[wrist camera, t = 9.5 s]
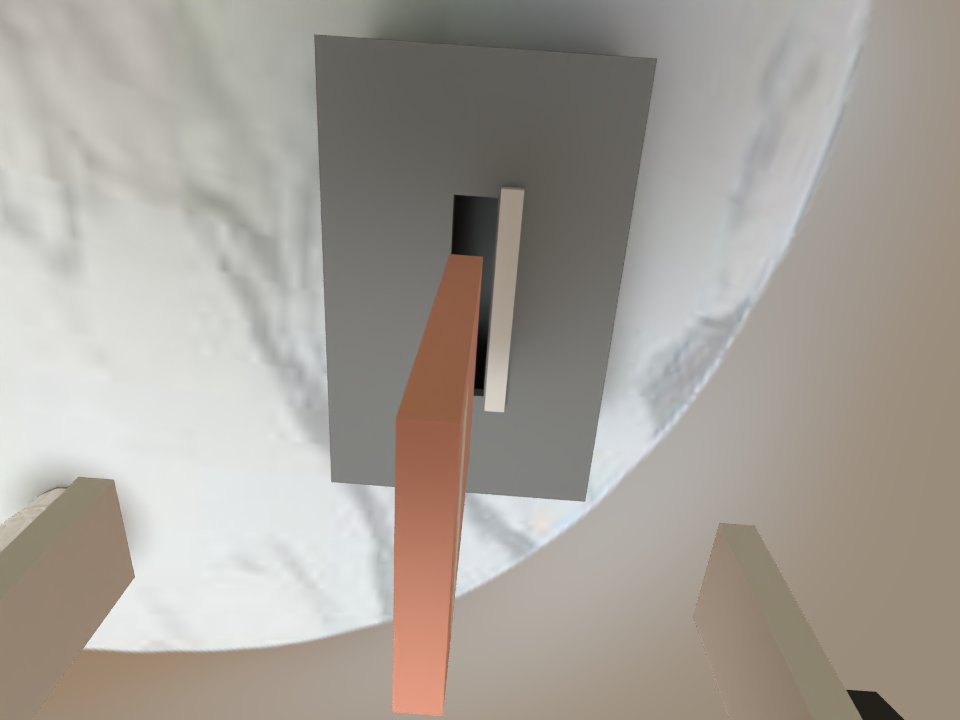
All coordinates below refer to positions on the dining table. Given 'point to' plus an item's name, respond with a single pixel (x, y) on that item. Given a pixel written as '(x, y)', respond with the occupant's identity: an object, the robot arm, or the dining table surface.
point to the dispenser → (476, 242)
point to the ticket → (433, 488)
